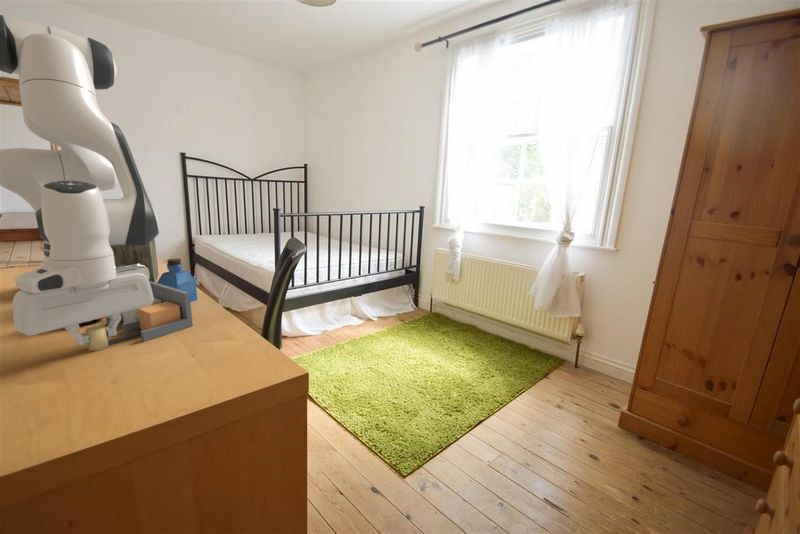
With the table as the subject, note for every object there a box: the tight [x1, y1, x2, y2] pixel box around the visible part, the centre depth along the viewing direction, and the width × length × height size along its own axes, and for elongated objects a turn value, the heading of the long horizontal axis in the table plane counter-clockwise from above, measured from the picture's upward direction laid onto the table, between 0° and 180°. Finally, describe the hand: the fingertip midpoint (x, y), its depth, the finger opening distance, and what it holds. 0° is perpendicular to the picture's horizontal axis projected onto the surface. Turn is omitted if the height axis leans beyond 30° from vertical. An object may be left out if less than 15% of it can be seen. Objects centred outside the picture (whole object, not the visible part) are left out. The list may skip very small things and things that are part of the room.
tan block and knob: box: [84, 302, 181, 352], centre depth 74 cm, size 5×16×5 cm, turn 151°
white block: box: [122, 298, 161, 323], centre depth 81 cm, size 5×6×5 cm
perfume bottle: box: [156, 258, 198, 304], centre depth 93 cm, size 6×6×12 cm
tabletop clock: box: [111, 238, 159, 283], centre depth 96 cm, size 14×9×25 cm, turn 29°
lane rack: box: [105, 281, 194, 342], centre depth 79 cm, size 16×10×8 cm, turn 61°
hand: (97, 340), depth 68 cm, fingers closed on tan block and knob, 3 cm apart
